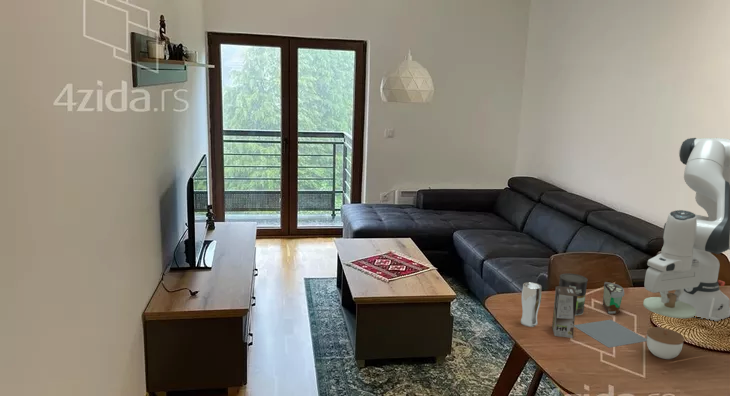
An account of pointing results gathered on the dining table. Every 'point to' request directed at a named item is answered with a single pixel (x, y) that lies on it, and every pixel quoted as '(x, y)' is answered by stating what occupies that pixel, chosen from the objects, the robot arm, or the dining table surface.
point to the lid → (670, 307)
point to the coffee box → (564, 311)
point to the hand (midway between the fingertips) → (669, 301)
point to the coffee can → (575, 288)
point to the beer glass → (530, 303)
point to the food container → (612, 297)
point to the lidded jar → (664, 342)
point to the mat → (610, 333)
